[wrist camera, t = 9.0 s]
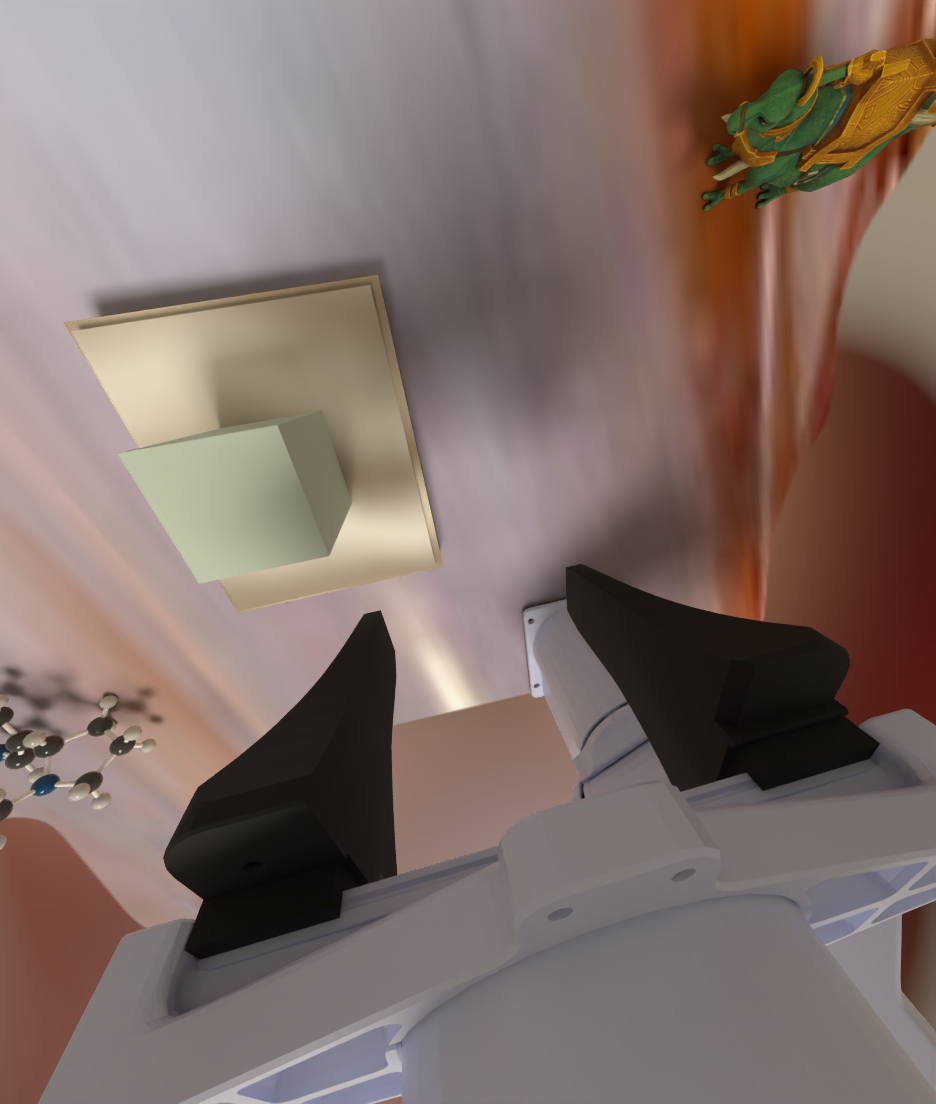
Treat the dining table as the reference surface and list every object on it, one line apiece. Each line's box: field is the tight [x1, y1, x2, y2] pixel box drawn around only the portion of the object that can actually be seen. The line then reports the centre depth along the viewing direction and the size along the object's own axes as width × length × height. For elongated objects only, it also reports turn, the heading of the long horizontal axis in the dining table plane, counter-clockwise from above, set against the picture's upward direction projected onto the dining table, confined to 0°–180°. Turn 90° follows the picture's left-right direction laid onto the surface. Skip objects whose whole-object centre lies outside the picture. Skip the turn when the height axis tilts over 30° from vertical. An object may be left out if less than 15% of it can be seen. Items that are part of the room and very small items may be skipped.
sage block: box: [117, 410, 352, 584], centre depth 13 cm, size 4×4×6 cm
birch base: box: [64, 275, 443, 613], centre depth 17 cm, size 14×12×2 cm
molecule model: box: [0, 694, 156, 850], centre depth 20 cm, size 6×12×8 cm, turn 78°
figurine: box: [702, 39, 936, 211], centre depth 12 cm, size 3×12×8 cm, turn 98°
